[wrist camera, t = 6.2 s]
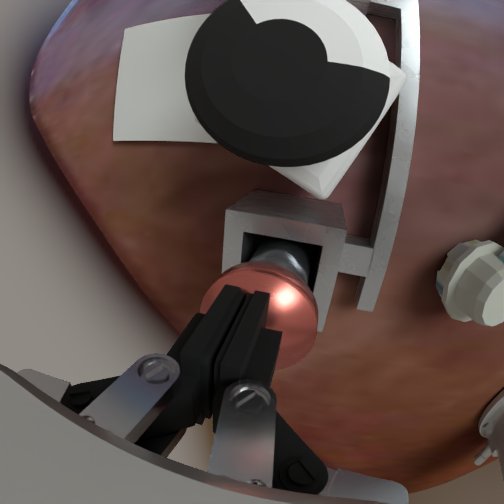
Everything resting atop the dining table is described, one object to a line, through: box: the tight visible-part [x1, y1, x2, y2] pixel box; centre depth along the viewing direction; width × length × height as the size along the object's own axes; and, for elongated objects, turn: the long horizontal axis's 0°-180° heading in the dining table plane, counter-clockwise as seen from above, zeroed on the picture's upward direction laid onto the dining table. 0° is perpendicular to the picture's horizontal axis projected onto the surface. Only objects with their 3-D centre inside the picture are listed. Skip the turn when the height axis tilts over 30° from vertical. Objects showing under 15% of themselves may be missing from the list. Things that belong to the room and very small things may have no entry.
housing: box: [222, 0, 420, 332], centre depth 14 cm, size 25×10×6 cm, turn 175°
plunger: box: [200, 236, 318, 370], centre depth 14 cm, size 5×5×8 cm
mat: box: [113, 14, 217, 143], centre depth 18 cm, size 10×10×1 cm
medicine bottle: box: [185, 0, 407, 200], centre depth 12 cm, size 7×7×12 cm
